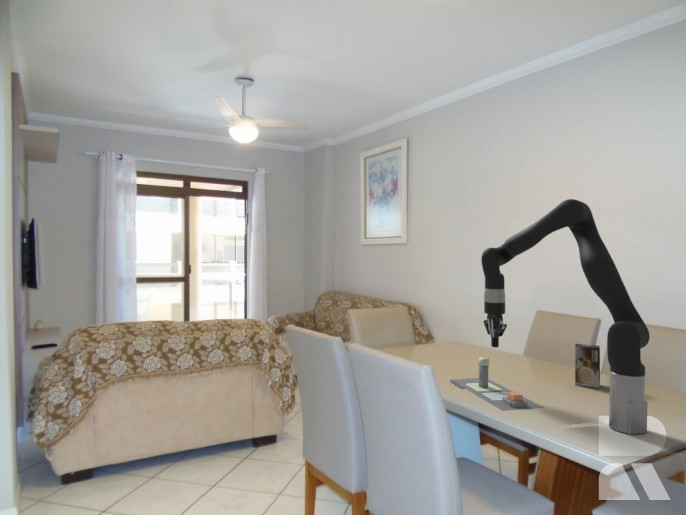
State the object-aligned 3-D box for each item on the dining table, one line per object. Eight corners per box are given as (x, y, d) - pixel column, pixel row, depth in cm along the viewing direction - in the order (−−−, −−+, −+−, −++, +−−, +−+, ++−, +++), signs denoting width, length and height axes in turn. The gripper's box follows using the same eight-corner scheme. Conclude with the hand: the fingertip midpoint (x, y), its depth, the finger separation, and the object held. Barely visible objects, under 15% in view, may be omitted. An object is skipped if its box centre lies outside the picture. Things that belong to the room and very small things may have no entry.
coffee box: (599, 384, 192) (600, 345, 192) (600, 388, 187) (600, 348, 187) (574, 381, 197) (575, 343, 196) (574, 385, 191) (575, 345, 191)
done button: (522, 401, 162) (522, 394, 162) (513, 402, 162) (513, 395, 162) (516, 398, 166) (516, 391, 166) (507, 399, 165) (507, 392, 165)
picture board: (544, 410, 161) (544, 402, 161) (502, 413, 157) (502, 405, 157) (485, 380, 198) (485, 373, 198) (450, 382, 194) (450, 375, 194)
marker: (490, 387, 183) (490, 359, 183) (481, 388, 182) (481, 359, 182) (485, 385, 187) (485, 357, 186) (476, 385, 186) (476, 357, 185)
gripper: (513, 302, 172) (514, 349, 172) (494, 299, 184) (494, 343, 184) (495, 302, 170) (495, 350, 170) (476, 299, 183) (477, 344, 183)
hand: (494, 346), depth 177 cm, fingers closed
